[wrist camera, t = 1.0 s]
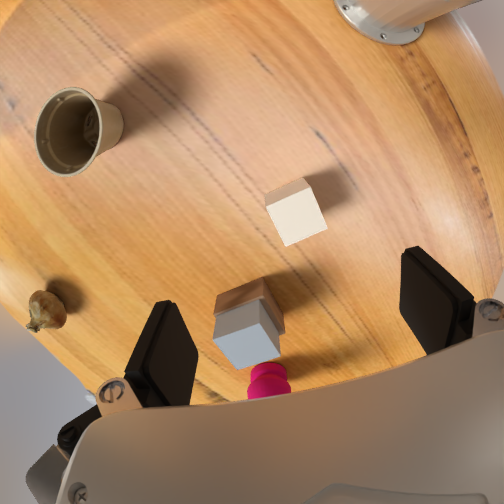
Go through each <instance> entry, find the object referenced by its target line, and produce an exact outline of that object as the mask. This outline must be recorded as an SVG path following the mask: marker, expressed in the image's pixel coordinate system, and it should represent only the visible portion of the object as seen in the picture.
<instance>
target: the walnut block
mask: <svg viewBox="0 0 504 504" xmlns="http://www.w3.org/2000/svg"><path fill="white" fill-rule="evenodd" d="M256 300H260V302H261V304H262V305H263V307H264V309H265V310H266V312H267V314H268V315H269V317H270V319H271V320H272V322H273V324H274V325H275V327H276V329H277V330H278V332H279V335H282V334H285V326H284V317H283V313H282V311H281V309H280V307H279V306H278V304H277V302H276V300H275V298H274V297H273V295H272V293H271V291H270V289H269V288H268V286H267V284H266V282H265V280H264V279H263V277H261V278H259V279H256V280H254V281H251V282H249V283H246V284H244V285H242V286H239V287H237V288H234V289H232V290H229V291H227V292H224V293H222V294H219V295H217V299H216V304H215V309H214V316H215V317H216V316H218V315H220V314H223V313H225V312H228V311H231V310H233V309H236V308H239V307H241V306H244V305H246V304H249V303H251V302H254V301H256Z"/></svg>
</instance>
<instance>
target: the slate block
mask: <svg viewBox="0 0 504 504" xmlns="http://www.w3.org/2000/svg"><path fill="white" fill-rule="evenodd" d="M213 341H214V342H215V343H216V345H217V346H218V347H219V348H220V350H221V351H222V352H223V353H224V355H225V356H226V357H227V358H228V360H229V361H230V362H231V363H232V364H233V366H234V367H235V368H236V369H237V370H239V369H242V368H245V367H249V366H252V365H255V364H258V363H261V362H264V361H268V360H271V359H274V358H277V357H280V356H281V353H280V343H279V332H278V330H277V329H276V327H275V325H274V324H273V322H272V320H271V319H270V317H269V315H268V314H267V312H266V310H265V309H264V307H263V305H262V304H261V302H260V300H256V301H254V302H251V303H249V304H246V305H244V306H241V307H239V308H236V309H233V310H231V311H228V312H225V313H223V314H220V315H218V316H216V322H215V328H214V334H213Z"/></svg>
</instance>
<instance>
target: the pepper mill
mask: <svg viewBox="0 0 504 504" xmlns="http://www.w3.org/2000/svg"><path fill="white" fill-rule="evenodd" d="M247 393H248V399H256V398H262V397H269V396H275V395H281V394H287V393H291V387H290V385H289V383H288V382H287V373H286V370H285V368H284V367H283V366H281V365H279V364H277V363H268V362H267V363H262V364H259V365H257V366H255V367H254V368H253V369H252V371H251V384H250V385H249V387H248V390H247Z"/></svg>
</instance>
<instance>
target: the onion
mask: <svg viewBox="0 0 504 504" xmlns="http://www.w3.org/2000/svg"><path fill="white" fill-rule="evenodd" d="M62 302H63V301H61V300H60V299H59V298H58V297H57V296H56V295H54V294H53V293H50V292H47V291H42V290H39V291H36V292H35V293H33V294H32V296H31V297H30V300H29V311H30V317H31V321H30V323H28V324H27V325H26V327H27V330H28V331H33V332H35V333H37V331H40V328H44V329H45V328H49V329H59V328H61V327H63V325H64V324H65V322H66V318H67V315H66V311H65V308H64V306H63V304H64V303H62Z"/></svg>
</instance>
